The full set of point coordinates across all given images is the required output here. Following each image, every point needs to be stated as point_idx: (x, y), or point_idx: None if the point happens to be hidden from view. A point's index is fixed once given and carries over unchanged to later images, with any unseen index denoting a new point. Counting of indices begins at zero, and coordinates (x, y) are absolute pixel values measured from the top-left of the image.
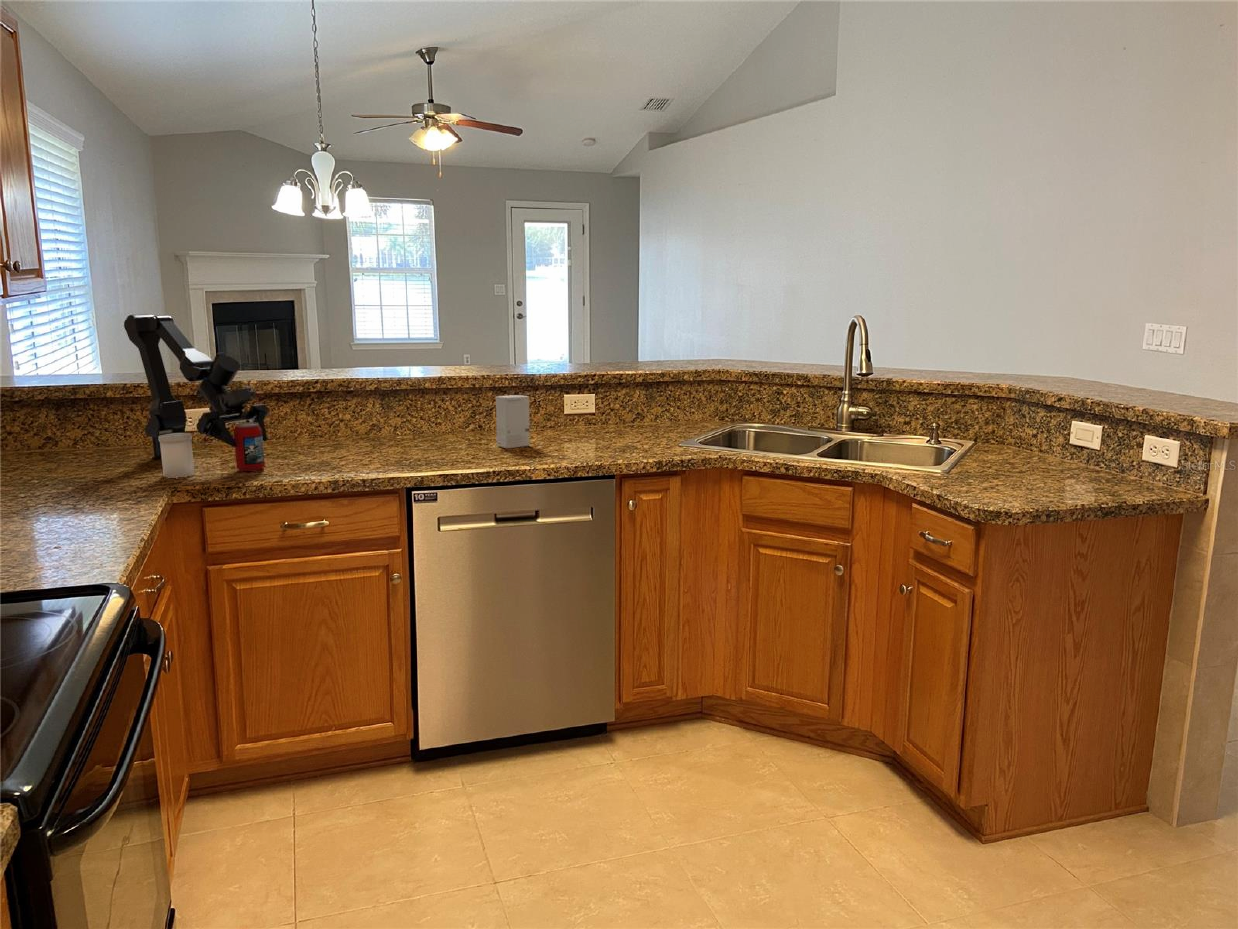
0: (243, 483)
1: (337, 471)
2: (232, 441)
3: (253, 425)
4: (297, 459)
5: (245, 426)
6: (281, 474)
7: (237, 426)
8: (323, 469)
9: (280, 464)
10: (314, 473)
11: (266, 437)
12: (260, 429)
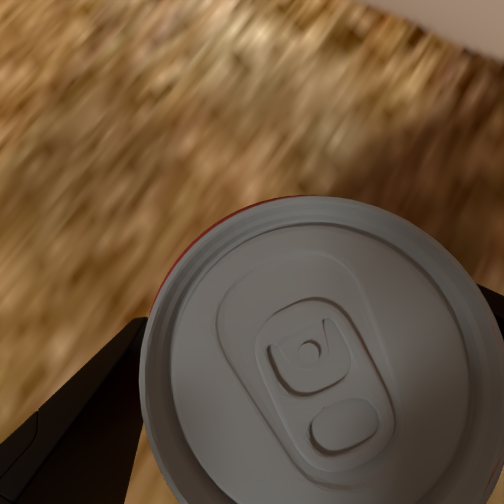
0: (457, 106)
1: (106, 36)
2: (501, 298)
3: (298, 198)
4: (14, 371)
5: (416, 230)
6: (261, 139)
7: (496, 367)
8: (108, 99)
9: None
10: (174, 65)
11: (133, 325)
12: (204, 233)
